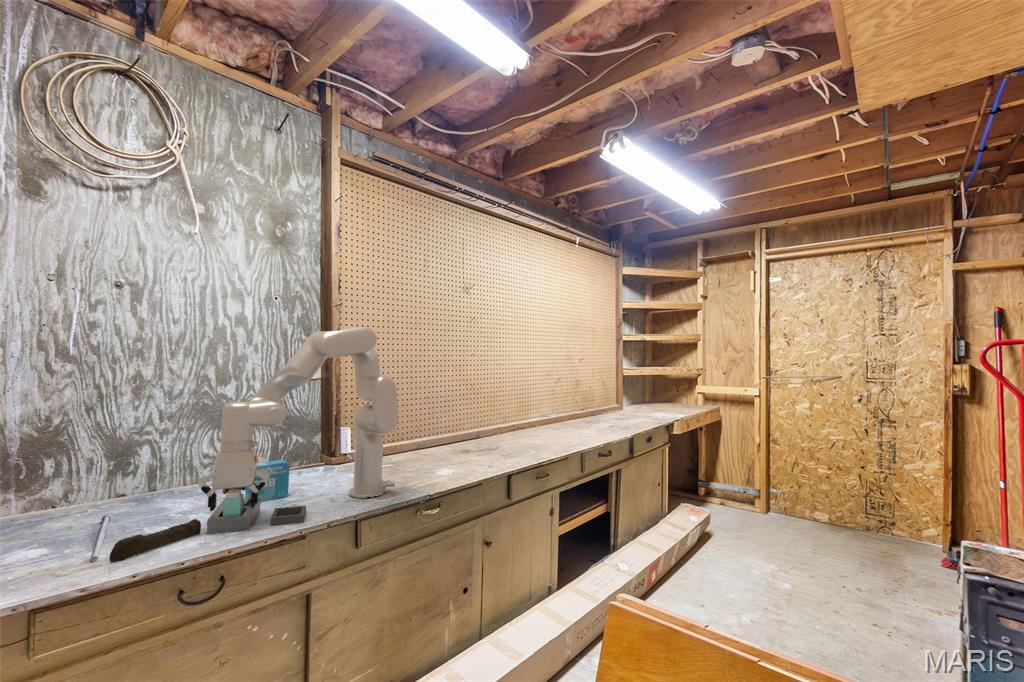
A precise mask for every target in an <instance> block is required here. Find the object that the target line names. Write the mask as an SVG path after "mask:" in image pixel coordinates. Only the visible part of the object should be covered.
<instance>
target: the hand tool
mask: <svg viewBox="0 0 1024 682" xmlns="http://www.w3.org/2000/svg"><path fill="white" fill-rule="evenodd" d="M201 530H202V523H201V521H200V520H199V519H197V518H195V519H194V518H193V519H191V520H190V521H188V522H184V523H179V524H178V525H174V526H171V527H169V528H166V529H163V530H159V531H156V532H153V533H149V534H136V535H132V536H129V537H125V538H122V539H120V540H118V541H117V542H116V543H115V544H114V546H113V547H112V549H111V550H110V553H109V562H116V561H117V560H118V561H122V560H126V559H129V558H128V557H130V558H132V557H131V556H133V557H135V556H134V555H136V556H139V555H138V554H140V553H141V554H142V553H144V552H146V551H147V550H150V549H153V548H156V547H159V546H162V545H164V544H168V543H170V542H175V541H177V540H180V539H183V538H187V537H190V536H192V535H197V534H199V535H200V533H201ZM141 554H140V555H141ZM125 558H126V559H125ZM118 561H117V562H118Z"/></svg>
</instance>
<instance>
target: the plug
mask: <svg viewBox="0 0 1024 682" xmlns="http://www.w3.org/2000/svg"><path fill="white" fill-rule="evenodd" d="M241 490H242V489H235V490H229V491H228V492H227V494H225V497H224V498H223V501H224V503H223V517H228V516H239V515H242V514H243V497H245V493H242V491H241Z"/></svg>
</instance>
